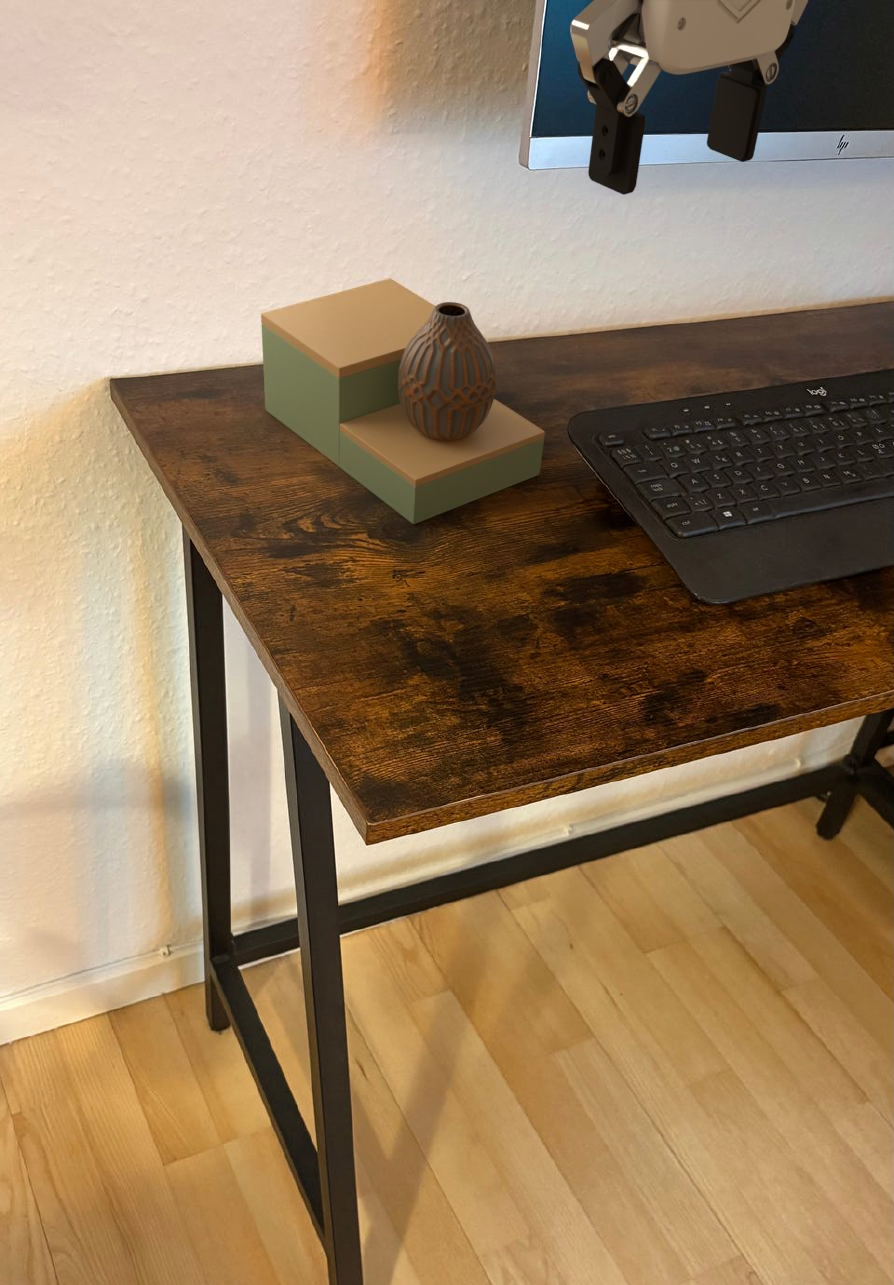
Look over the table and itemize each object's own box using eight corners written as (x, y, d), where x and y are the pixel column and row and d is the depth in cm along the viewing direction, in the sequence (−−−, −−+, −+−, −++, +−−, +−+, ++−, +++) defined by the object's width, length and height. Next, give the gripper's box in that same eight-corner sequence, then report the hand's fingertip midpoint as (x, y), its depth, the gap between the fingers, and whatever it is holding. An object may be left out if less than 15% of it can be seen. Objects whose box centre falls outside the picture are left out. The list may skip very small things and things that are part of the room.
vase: (447, 394, 92) (454, 278, 86) (511, 432, 89) (524, 315, 83) (376, 422, 89) (379, 303, 83) (440, 462, 86) (448, 342, 79)
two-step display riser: (539, 475, 92) (552, 377, 87) (413, 524, 87) (418, 424, 81) (387, 371, 102) (390, 278, 96) (264, 410, 96) (260, 313, 91)
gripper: (663, -191, 52) (608, 222, 65) (908, -209, 60) (819, 162, 73) (546, -216, 56) (515, 178, 69) (791, -229, 64) (724, 126, 77)
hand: (671, 170), depth 71 cm, fingers open, 9 cm apart
